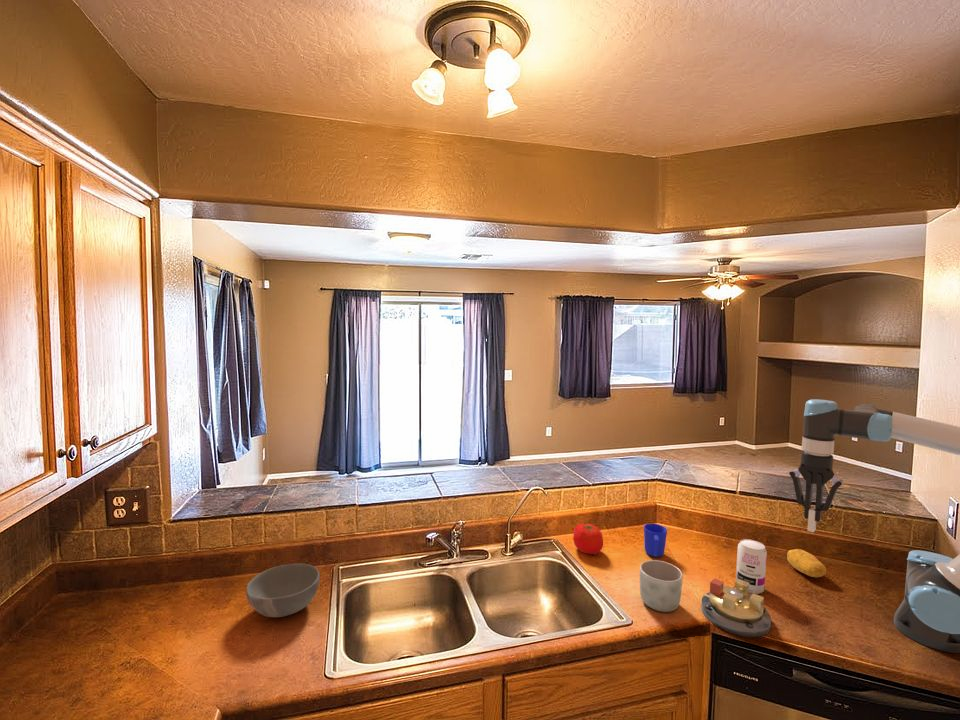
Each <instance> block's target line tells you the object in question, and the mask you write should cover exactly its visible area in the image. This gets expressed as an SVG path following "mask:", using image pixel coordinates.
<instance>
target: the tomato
mask: <svg viewBox="0 0 960 720" xmlns="http://www.w3.org/2000/svg"><path fill="white" fill-rule="evenodd" d="M572 537H573V538H572V539H573V543H574V546H575V548H577V550H578V551H579V552H581V553H584V554H586V555H596V554H598V553H600V552H601V550H602V549H603V547H604V539H603V533H602V531H601V530H600V529H599V528H598V527H596V526H595V525H594V524H592V523H591V524H590V523H587V524H586V523H582V522H581V523H578V524H577V525H576V526H575V527H574V529H573V536H572Z"/></svg>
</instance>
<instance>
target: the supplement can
mask: <svg viewBox="0 0 960 720" xmlns="http://www.w3.org/2000/svg"><path fill="white" fill-rule="evenodd" d="M736 555H737V556H736V572H735V581H736V580H737V579H740V580H743V581H746V582H748V583H749V593H750V594H753V593H754V594H757V595H759V594H762V593H763V592H765V587H766V586H765V585H766V572H767V555H768V551H767V550H766V546H765V545H764V544H763V543H762V542H759V541H756V540H753V539H749V538H747V539H746V538H745V539H740V542H739V543H738V544H737V554H736Z"/></svg>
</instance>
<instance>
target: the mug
mask: <svg viewBox="0 0 960 720" xmlns="http://www.w3.org/2000/svg"><path fill="white" fill-rule="evenodd" d="M667 535H668V529H667V528H666V527H665V526H663V525H661V524H658V523H646V524H644V525H643V538H644V539H643V541H644V551H645V553H646V554H647V555H649V556H651V557H654V558H655V557H656V558H659V557H662V556H664V554H665V550H666V549H665V548H666V543H667Z"/></svg>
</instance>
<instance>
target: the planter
mask: <svg viewBox="0 0 960 720" xmlns="http://www.w3.org/2000/svg"><path fill="white" fill-rule="evenodd" d="M683 577H684V574H683V572H682V571H681V569H680V568H678V567H677V566H675V565H674V564H672V563H670V562H667V561H663V560H657V559H651V560H645V561H643V562H642V563H641V564H640V565H639V591H640V597H641V601H643V603H644V604H645V605H646V606H647V607H648V608H650V609H653V610H655V611H657V612H662V613H670V612H673V611H675V610H677V608H678V607H679V606H680V603H681V598H682V591H683V590H682V588H683V579H684V578H683Z"/></svg>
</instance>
